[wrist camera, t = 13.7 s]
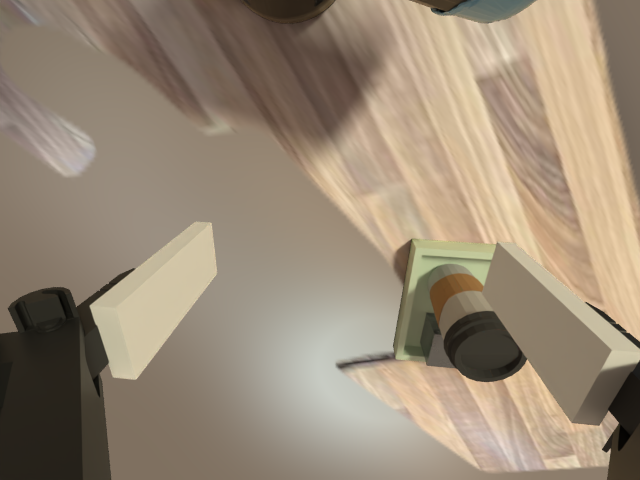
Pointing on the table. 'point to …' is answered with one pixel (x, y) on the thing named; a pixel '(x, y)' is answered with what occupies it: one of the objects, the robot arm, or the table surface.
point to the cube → (433, 343)
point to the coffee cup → (471, 326)
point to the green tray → (415, 289)
